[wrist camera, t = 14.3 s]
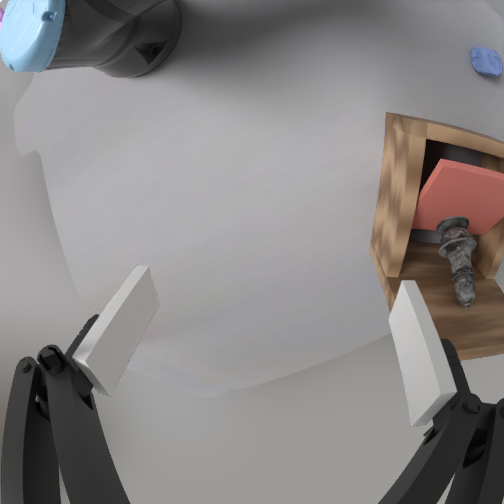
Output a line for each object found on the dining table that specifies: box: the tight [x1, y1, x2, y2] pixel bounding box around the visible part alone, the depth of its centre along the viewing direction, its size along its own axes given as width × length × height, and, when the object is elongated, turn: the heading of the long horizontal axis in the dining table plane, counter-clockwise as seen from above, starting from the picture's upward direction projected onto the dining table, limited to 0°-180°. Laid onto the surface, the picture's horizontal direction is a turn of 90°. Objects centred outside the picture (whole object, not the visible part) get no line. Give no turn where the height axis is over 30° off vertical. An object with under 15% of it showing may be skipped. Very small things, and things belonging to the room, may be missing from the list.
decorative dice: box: [471, 47, 503, 77], centre depth 22 cm, size 4×4×4 cm
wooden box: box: [369, 112, 504, 361], centre depth 27 cm, size 22×20×23 cm
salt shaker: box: [436, 216, 477, 311], centre depth 29 cm, size 6×6×12 cm
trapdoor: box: [411, 159, 504, 235], centre depth 27 cm, size 14×15×1 cm
